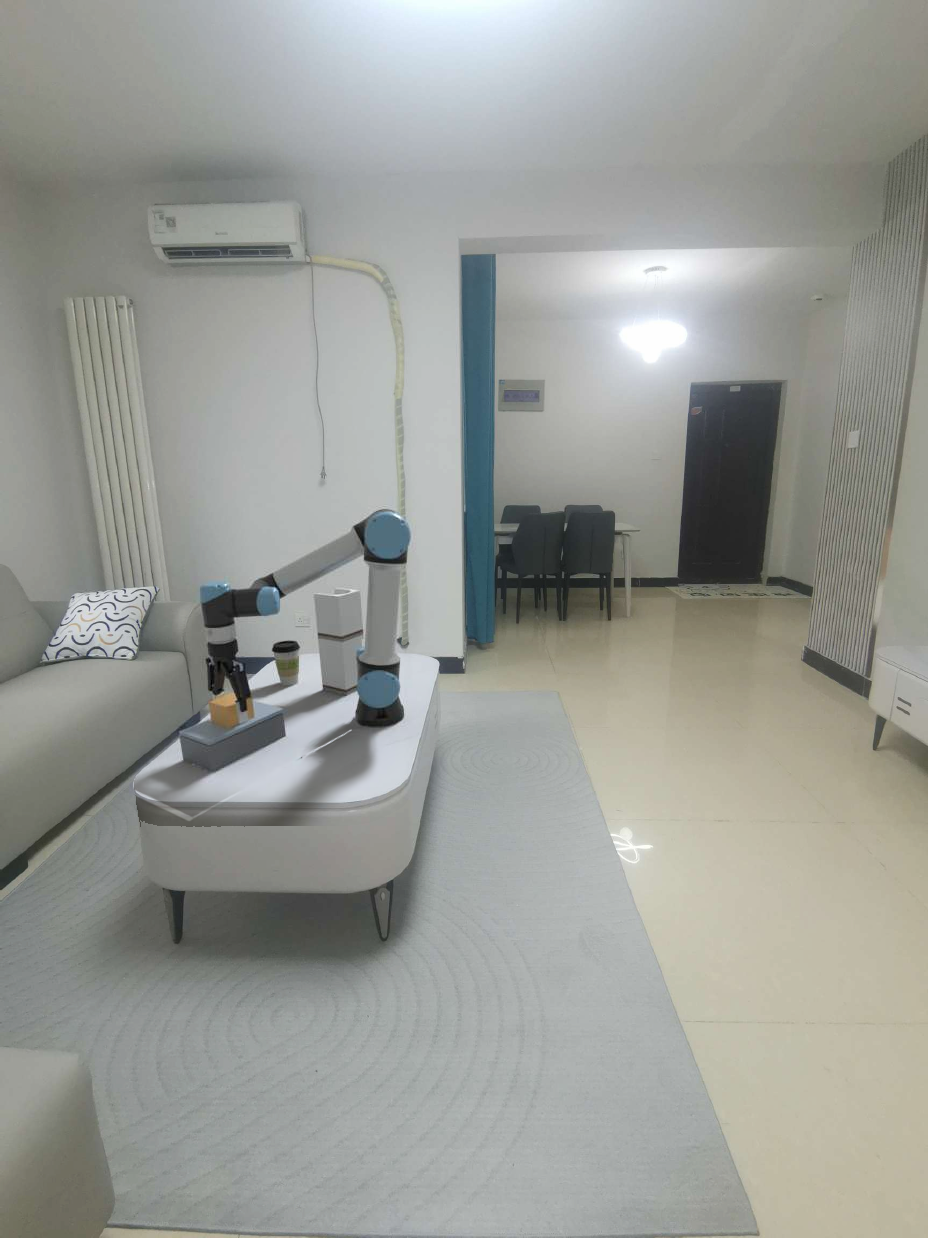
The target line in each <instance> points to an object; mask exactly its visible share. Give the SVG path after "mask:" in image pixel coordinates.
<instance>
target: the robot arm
mask: <svg viewBox="0 0 928 1238" xmlns="http://www.w3.org/2000/svg"><path fill="white" fill-rule="evenodd" d="M411 536H412V535H411V529H410V526H409V524H408V522H407V521H406V519H405V518H404V517H403V516H402V515H401V514H399V513H398V512H397V511H395V510H392V509H389V508H383V509H379V510H376V511H373V513H371V514H370V515H368V516H367V517H366V518H364V519H362V520H361V521H360V522H358V523H356V524H354V525H353V526H351V529H350V531H349V532H347V533H345V534H343V535H341V536H340V537H338V538H336V539H333V540H332V541H330V542H328V543H326V544H324V545H323V546H320V547H318V548H317V549H314V550H313V551H311V552H309V553H308V554H305V555H303V556H301V557H300V558H298V559H296V560H294V561H292V562H291V563H288V564H286V565H284V566H283V567H281V568H279V569H277V570H275V571H273V572H272V573H270V574H268V575H265V576H263V577H260V578H258V579H256V580H254V581H253V582H252V584H251V586H250V587H249V588H241V589H240V588H237V589H236V588H231V585H230V583H229V582H227V581H212V582H207V583H203V584H202V585H201V586H200V587H199V596H200V597H199V598H200V601H199V604H200V607H201V612H202V618H203V625H204V631H205V633H204V634H205V639H206V641H207V643H206V646H207V653H208V656H209V657H206V658H205V664H206V666H207V667H206V669H207V670H206V671H207V674H206V675H207V690H208V692H211V693H212V694H213V696H214V699H217V698H220V697H222V696H225V695H226V692H225V689H224V685H225V679H227V680H228V681H229V683H230V686H231V688H232V690H233V692H234V693H235V696H236V698H237V700H236V701H235V704H236V711H237V718H238V724H241V723H244V722H246V721H248V714H247V702H246V699H248V698H251V697H252V693H251V688H250V685H249V680H248V677H247V676H248V675H247V672H246V664H245V662H241V663H240V662H239V661H238V660H237V657H236V655H237V653H239V645H238V640H237V637H238V635H237V629H236V621H235V618H247V617H248V618H249V617H268V616H275V615H278V614H279V612H280V610H281V609H280V608H281V599H283V598H284V597H286V596H287V595H289V594H292V593H294V592H295V591H296V592H297V591H298V590H299V589H301V588H303V587H305V586H307V585H309V584H311V583H313V582H314V581H316V580H318V579H320V578H322V577H324V576H326V575H328V574H330V573H331V572H333V571H336V570H338V569H339V568H341V567H342V566H345V565H347V564H349V563H351V562H353V561H354V560H357V559H359V558H360V557H362V556H363V561H364V563H365V564H366V565H367V567H368V579H367V581H368V582H367V597H366V598H367V599H366V601H367V602H366V616H365V617H366V619H365V620H366V621H365V636H364V646H362V648H359V649H358V650H357V652H356V659H357V674H358V675H357V691H356V693H357V695H358V700H357V705H356V709H355V712H354V715H355V722H356V723H357V724H359V725H361V726H363V727H367V728H380V727H388V726H391V725H395V724H397V723H399V722H400V721H402V720H403V719H404V718H405V708H404V706H403V704H402V702H401V699H400V696H399V694H400V693H401V692H400V691H401V682H400V668H401V657H400V656H399V655H398V654H397V653H396V648H397V632H398V619H399V615H398V614H399V601H400V589H401V588H400V586H401V584H400V583H401V570H402V568H404V567H405V566H406V565H407V563H408V553H409V551H408V550H409V545H410V542H411Z"/></svg>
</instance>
